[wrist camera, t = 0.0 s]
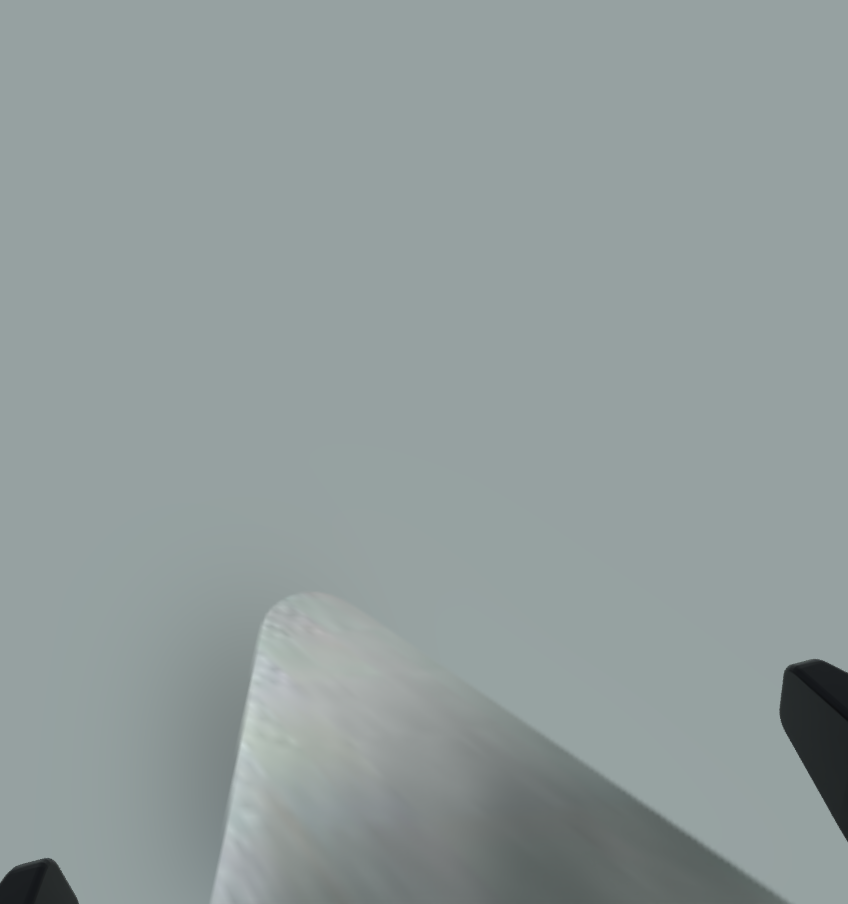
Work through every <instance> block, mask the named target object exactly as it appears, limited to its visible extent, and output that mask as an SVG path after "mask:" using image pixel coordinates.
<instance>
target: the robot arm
mask: <svg viewBox="0 0 848 904" xmlns="http://www.w3.org/2000/svg"><path fill="white" fill-rule="evenodd" d="M780 719H781V723H782V725H783V728H784V730H785V732H786V734H787V736H788V737H789V739H790V741H791V743H792V745H793V746H794V748H795V750H796V752H797V753H798V755H799V757H800V759H801V760H802V762H803V764H804V766H805V768H806V769H807V771H808V773H809V775H810V777H811V778H812V780H813V782H814V784H815V785H816V787H817V789H818V791H819V792H820V794H821V796H822V798H823V799H824V802H825V803H826V805H827V807H828V809H829V810H830V812H831V814H832V816H833V817H834V819H835V821H836V823H837V825H838V826H839V828H840V830H841V831H842V833H843V835H844V836H845V838H846V840H847V841H848V673H847V672H845V671H843V670H841V669H839V668H837V667H835V666H833V665H831V664H829V663H827V662H825V661H823V660H819V659H811V660H807V661H804V662H800V663H796V664H792V665H789V666H788V667H787V668H786V670H785V671H784V676H783V685H782V693H781V701H780ZM0 904H79V903H78V900H77V897H76V895H75V894H74V892H73V890H72V889H71V887H70V885H69V883H68V882H67V880H66V878H65V876H64V875H63V873H62V871H61V870H60V868H59V866H58V865H57V863H56V862H55V861H54V860H52V859H50V858H44V859H40V860H36V861H32V862H28V863H25V864H21V865H18V866H16V867H14V868H13V869H12V870H11V871H9V872H8V874H7V875H6V876H5V877H4V879H3V880H2V881H1V883H0Z"/></svg>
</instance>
